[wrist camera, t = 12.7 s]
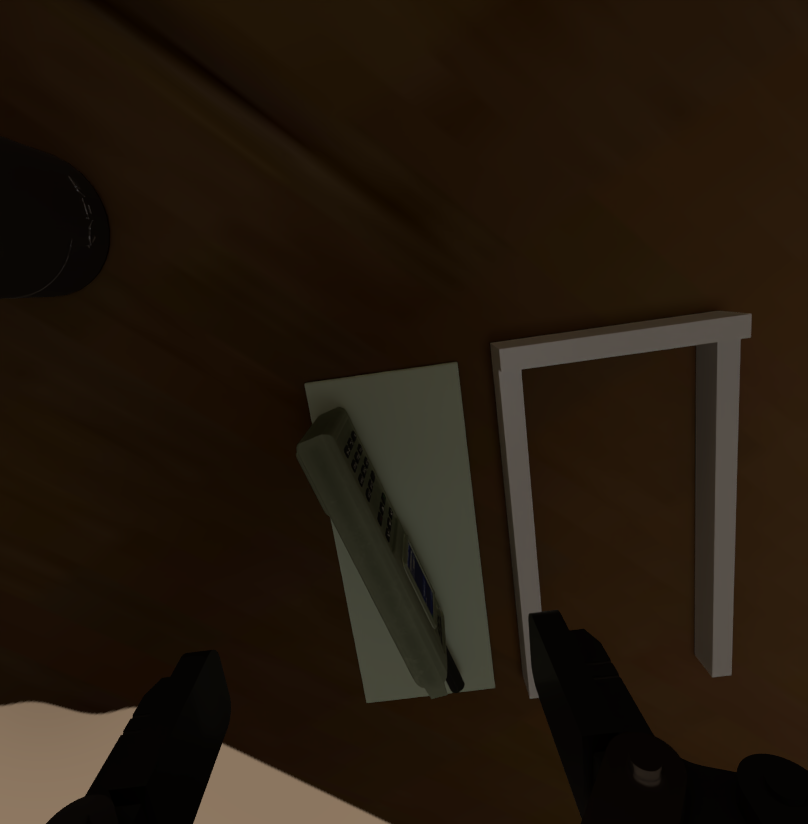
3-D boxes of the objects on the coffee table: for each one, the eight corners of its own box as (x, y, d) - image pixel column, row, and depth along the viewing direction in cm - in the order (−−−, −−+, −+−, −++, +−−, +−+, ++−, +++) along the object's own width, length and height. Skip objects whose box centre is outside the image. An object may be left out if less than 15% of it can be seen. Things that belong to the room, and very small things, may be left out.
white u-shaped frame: (522, 675, 43) (533, 708, 39) (489, 342, 36) (499, 349, 32) (712, 652, 42) (739, 684, 39) (717, 310, 35) (751, 313, 32)
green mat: (367, 698, 43) (366, 703, 43) (305, 382, 36) (304, 384, 36) (494, 683, 43) (495, 687, 42) (456, 361, 36) (457, 362, 35)
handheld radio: (350, 401, 36) (476, 668, 42) (309, 418, 37) (439, 680, 42) (334, 429, 30) (485, 740, 35) (284, 449, 30) (442, 753, 36)
